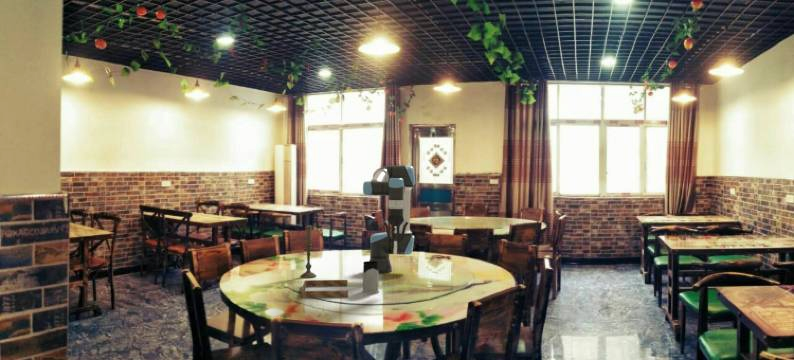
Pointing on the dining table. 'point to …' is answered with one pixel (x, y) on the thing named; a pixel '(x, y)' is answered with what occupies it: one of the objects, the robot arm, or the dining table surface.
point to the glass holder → (370, 277)
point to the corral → (324, 293)
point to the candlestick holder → (308, 256)
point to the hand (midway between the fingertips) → (395, 254)
